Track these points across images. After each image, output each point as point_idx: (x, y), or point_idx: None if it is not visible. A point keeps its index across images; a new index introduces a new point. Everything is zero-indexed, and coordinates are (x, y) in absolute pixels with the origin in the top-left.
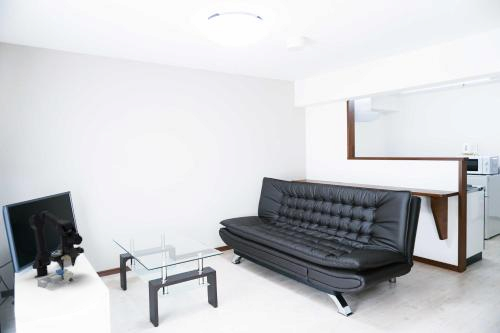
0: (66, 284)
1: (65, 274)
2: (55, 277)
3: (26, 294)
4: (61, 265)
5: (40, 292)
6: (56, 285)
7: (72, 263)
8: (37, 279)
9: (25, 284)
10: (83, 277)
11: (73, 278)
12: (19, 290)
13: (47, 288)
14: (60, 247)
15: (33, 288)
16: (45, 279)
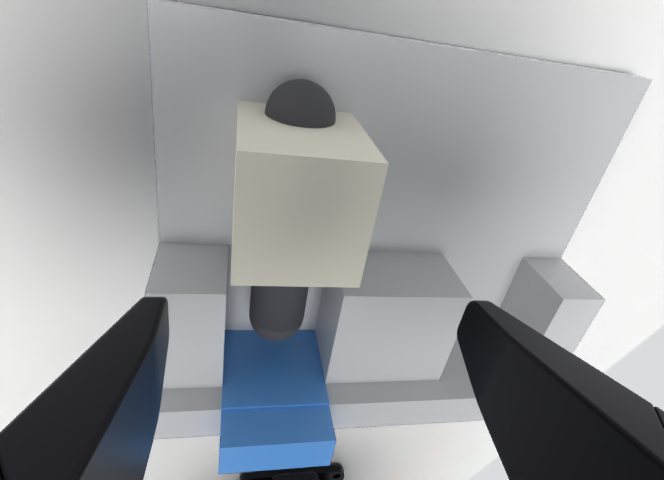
0: (424, 60)
1: (367, 233)
2: (419, 321)
3: (654, 290)
4: (642, 417)
5: (618, 213)
6: (481, 180)
7: (153, 393)
8: None
9: (464, 452)
10: (16, 79)
11: (241, 109)
12: None
13: (575, 205)
14: None
15: None
16: None
